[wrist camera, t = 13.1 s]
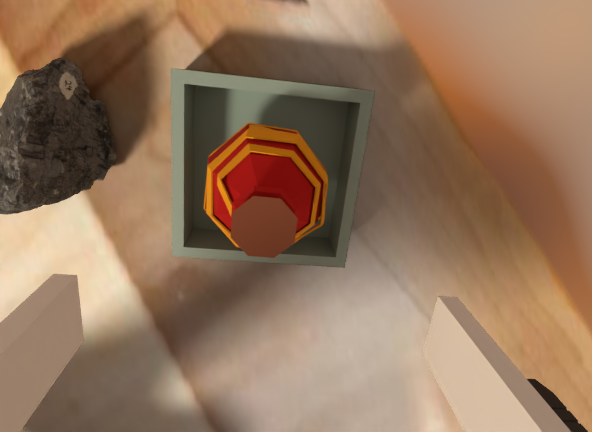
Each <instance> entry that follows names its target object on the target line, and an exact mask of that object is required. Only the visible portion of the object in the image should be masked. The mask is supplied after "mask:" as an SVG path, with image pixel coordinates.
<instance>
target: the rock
mask: <svg viewBox="0 0 592 432" xmlns="http://www.w3.org/2000/svg"><path fill="white" fill-rule="evenodd" d="M84 82H85V80H84V79H83V75H81V70H80V69H79V67H78V66H77V65H76V64H75V63H74V62H72V61H69V60H66V59H61V58H59V59H55V60H52V61H51V63H49V64H47V65H46V66H45V67H44V68H41V69H39V70H34V69H33V70H28V71H25V72H24V74H22V75H19V76H18V77H17V79H16V81H15V83H14V85H13V87H12V88H11V90H10V91H9V93H8V94H7V97H6V100H5V102H4V104H3V105H2V107H1V109H0V214H13V213H20V212H23V211H29V210H32V209H34V208H38V207H41V206H42V205H50V204H54V203H58V202H60V201H62V200H65V199H67V198H70V197H71V196H73V195H74V194H78V193H79V192H80V191H83V190H88V189H91V186H92V185H93V182H94V181H95V180H103V179H104V177H105V175H106V173H107V171H108V170H109V169H110V167H111V165H112V164H113V163H114V162H115V160H116V153H115V150H114V147H113V145H114V138H113V136H112V134H111V132H110V130H109V126H108V119H107V117H106V114H107V111H106V107H105V104H104V103H103V102H101V101H100V100H96V99H95V100H92V99H91V98H90V97H89V94H90V90H89V89H88V88H87V86H86V84H85V83H84Z"/></svg>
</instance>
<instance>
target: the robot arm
mask: <svg viewBox="0 0 592 432" xmlns="http://www.w3.org/2000/svg"><path fill="white" fill-rule="evenodd" d="M83 341H84V337H83V327H82V318H81V308H80V299H79V290H78V280H77V275H63V274H53V275H52V276H51V277H50V278H49V279H48V280H47V281H45V282H44V283H43V284H42V285H41V286H40V287H39V288H38V289H37V290H36V291H35V292H34V293H32V294H31V295H30V296H29V297H28V298H27V299H26V300H25V301H24V302H23V303H22V304H20V305H19V306H18V307H17V308H16V309H15V310H14V311H13V312H12V313H11V314H10V315H9V316H7V317H6V318H5V319H4V320H3V321H2V322H1V323H0V432H20V431H21V430H22V428H23V427H24V426H25V424H26V423H27V421H28V420H29V418H30V417H31V415H32V414H33V413H34V411H35V410H36V408H37V407H38V405H39V404H40V403H41V401H42V400H43V398H44V397H45V395H46V394H47V393H48V391H49V390H50V388H51V387H52V385H53V384H54V383H55V381H56V380H57V378H58V377H59V375H60V374H61V373H62V371H63V370H64V368H65V367H66V365H67V364H68V363H69V361H70V360H71V358H72V357H73V355H74V354H75V353H76V351H77V350H78V348H79V347H80V345H81V344H82V343H83ZM422 355H423V357H424V359H425V361H426V362H427V364H428V366H429V368H430V370H431V371H432V373H433V375H434V377H435V379H436V381H437V382H438V384H439V386H440V388H441V390H442V392H443V393H444V395H445V397H446V399H447V401H448V402H449V404H450V406H451V408H452V410H453V412H454V413H455V415H456V417H457V419H458V421H459V423H460V424H461V426H462V428H463V430H464V432H588V431H587V430H586V429H585V428H584V427H583V426H582V425H581V424H579V423H578V420H577V419H576V418H575V417H574V416H573V415H572V413H571V412H570V411H567V409H566V407H565V406H564V404H563V403H562V402H561V401H560V400H559V399H558V398H557V397H556V396H555V394H554V393H553V392H551V391H550V390H549V389H547V388H546V387H545V386H543V385H542V384H541V383H539V382H538V381H537V380H535V379H526V378H525V377H524V375H523V374H522V373H521V372H520V371H519V370H518V368H517V367H516V366H515V365H514V364H513V362H512V361H511V360H510V359H509V358H508V357H507V355H506V354H505V353H504V352H503V351H502V349H501V348H500V347H499V346H498V345H497V344H496V342H495V341H494V340H493V339H492V338H491V336H490V335H489V334H488V333H487V332H486V331H485V329H484V328H483V327H482V326H481V325H480V324H479V322H478V321H477V320H476V319H475V318H474V316H473V315H472V314H471V313H470V312H469V311H468V309H467V308H466V307H465V306H464V305H463V303H462V302H461V301H460V300H459V299H458V298H457V297H445V296H438V298H437V302H436V306H435V309H434V313H433V317H432V320H431V324H430V328H429V331H428V335H427V339H426V342H425V346H424V349H423V353H422Z"/></svg>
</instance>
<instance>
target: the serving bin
mask: <svg viewBox="0 0 592 432" xmlns="http://www.w3.org/2000/svg"><path fill="white" fill-rule="evenodd" d="M374 93H375V91H369V90H362V89H354V88H345V87H337V86H328V85H319V84H310V83H301V82H292V81H284V80H275V79H266V78H257V77H248V76H239V75H231V74H222V73H213V72H204V71H195V70H186V69H172V68H171V154H172V256H174V257H189V258H205V259H220V260H235V261H251V262H266V263H282V264H297V265H313V266H328V267H344V268H345V262H346V257H347V251H348V245H349V239H350V233H351V227H352V221H353V216H354V210H355V204H356V198H357V192H358V186H359V180H360V175H361V169H362V163H363V157H364V151H365V145H366V139H367V134H368V128H369V122H370V116H371V110H372V104H373V98H374ZM248 122H250V123H256V124H262V125H267V126H273V127H279V128H285V129H291V130H297V131H298V132H299V134H300V135H301V136H302V138H303V139H304V141H305V142H306V143H307V145H308V146H309V147H310V149H311V150H312V151H313V153H314V154H315V156H316V157H317V158H318V160H319V161H320V162H321V164H322V165H323V167H324V168H325V169H326V174H327V175H328V189H327V195H326V204H325V218H324V223H323V225H322V226H320V227H319V228H317V229H315V230H314V231H312V232H310V233H309V234H307V235H305V236H304V237H302V238H301V239H299V240H298V241H297V242H295V243H294V244H293V245H291V246H290V247H288V248H287V249H286V250H284V251H283V252H281V253H280V254H279V255H277V256H276V257H275V258H268V257H255V256H248V255H247V254H246V253H245V252H244V251H243V250H242V249H241V248H239V247H236V246H235V245H234V244H233V243H232V242H231V240H230V239H229V238H228V237H227V236H226V235H225V234H224V233H223V231H222V230H221V229H220V228H219V227H218V226H217V225H216V224H215V222H214V221H213V220H212V219H211V218H210V217H209V216H208V215H207V213H206V211H205V210H204V198H205V188H206V177H207V167H208V156H209V155H210V154H211V153H213V152H214V151H215V150H216V149H217V148H219V147H220V146H221V145H222V144H223V143H224V142H226V141H227V140H228V139H229V138H230V137H232V136H233V135H234V134H235V133H236V132H237V131H239V130H240V129H241V128H242V127H243V126H245V125H246V124H247V123H248ZM324 196H325V193H324ZM320 222H321V218H320V219H319V220H318V221H317V222H316V223H315V225H314V226H312V227H311V228H310V229H308V230H307V231H305V232H304V233H303V234H302V235H304V234H305V233H306V232H308V231H309V230H311V229H312V228H313V227H315V226H316V225H318V224H319V223H320ZM302 235H301V236H302Z"/></svg>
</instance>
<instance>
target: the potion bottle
mask: <svg viewBox="0 0 592 432" xmlns="http://www.w3.org/2000/svg"><path fill="white" fill-rule="evenodd" d="M327 189H328V175H327V174H326V169H325V168H324V167H323V165H322V164H321V162H320V161H319V160H318V158H317V157H316V156H315V154H314V153H313V151H312V150H311V149H310V147H309V146H308V145H307V143H306V142H305V141H304V139H303V138H302V136H301V135H300V134H299V132H298V131H297V130H291V129H285V128H279V127H273V126H267V125H262V124H256V123H250V122H248V123H247V124H246V125H245V126H243V127H242V128H241V129H240V130H239V131H237V132H236V133H235V134H234V135H233V136H232V137H230V138H229V139H228V140H227V141H226V142H224V143H223V144H222V145H221V146H220V147H219V148H217V149H216V150H215V151H214V152H213V153H211V154H210V155H209V156H208V167H207V177H206V188H205V198H204V210H205V211H206V213H207V215H208V216H209V217H210V218H211V219H212V220H213V221H214V222H215V224H216V225H217V226H218V227H219V228H220V229H221V230H222V231H223V233H224V234H225V235H226V236H227V237H228V238H229V239H230V240H231V242H232V243H233V244H234V245H235V246H236V247H239V248H241V249H242V250H243V251H244V252H245V253H246V254H247V255H248V256H255V257H268V258H275V257H276V256H277V255H279V254H280V253H281V252H283V251H284V250H286V249H287V248H288V247H290V246H291V245H293V244H294V243H295V242H297V241H298V240H299V239H301V238H302V237H304V236H305V235H307V234H309V233H310V232H312V231H314V230H315V229H317V228H319V227H320V226H322V225H323V223H324V218H325V204H326V195H327ZM324 193H325V196H324ZM320 218H321V222H320V223H319V224H318V225H316V226H315V227H313V228H312V229H311V230H309V231H308V232H306V233H305V234H304V235H302V234H303V233H304V232H305V231H307V230H308V229H310V228H311V227H312V226H314V225H315V223H316V222H317V221H318V220H319V219H320ZM301 235H302V236H301Z"/></svg>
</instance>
